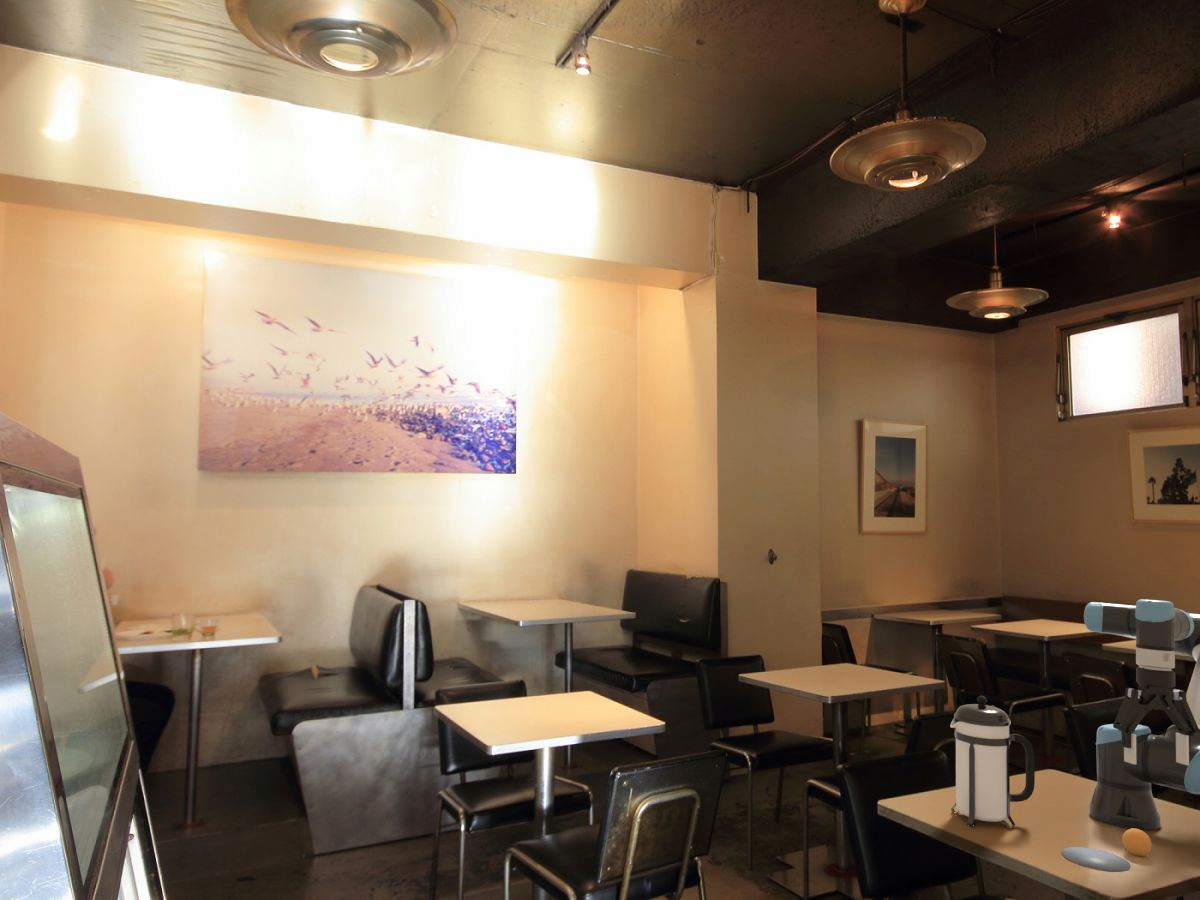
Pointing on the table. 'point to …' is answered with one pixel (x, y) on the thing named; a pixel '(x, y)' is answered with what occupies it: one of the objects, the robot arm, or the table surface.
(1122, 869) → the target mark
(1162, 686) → the robot arm
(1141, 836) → the ball
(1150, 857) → the table surface
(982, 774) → the coffee press
